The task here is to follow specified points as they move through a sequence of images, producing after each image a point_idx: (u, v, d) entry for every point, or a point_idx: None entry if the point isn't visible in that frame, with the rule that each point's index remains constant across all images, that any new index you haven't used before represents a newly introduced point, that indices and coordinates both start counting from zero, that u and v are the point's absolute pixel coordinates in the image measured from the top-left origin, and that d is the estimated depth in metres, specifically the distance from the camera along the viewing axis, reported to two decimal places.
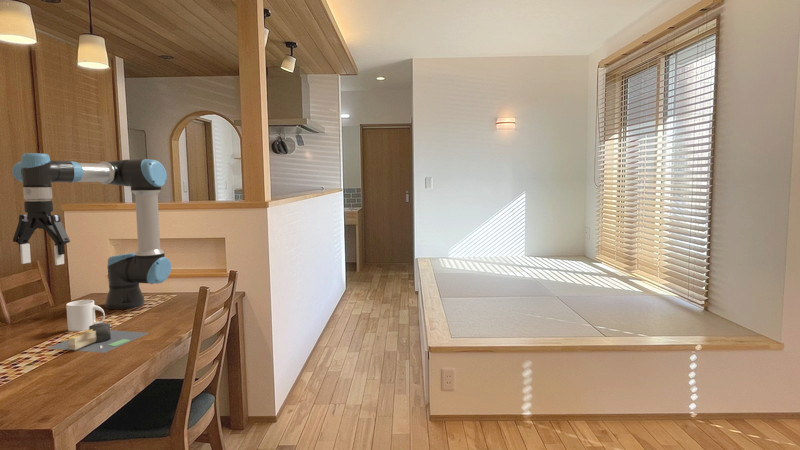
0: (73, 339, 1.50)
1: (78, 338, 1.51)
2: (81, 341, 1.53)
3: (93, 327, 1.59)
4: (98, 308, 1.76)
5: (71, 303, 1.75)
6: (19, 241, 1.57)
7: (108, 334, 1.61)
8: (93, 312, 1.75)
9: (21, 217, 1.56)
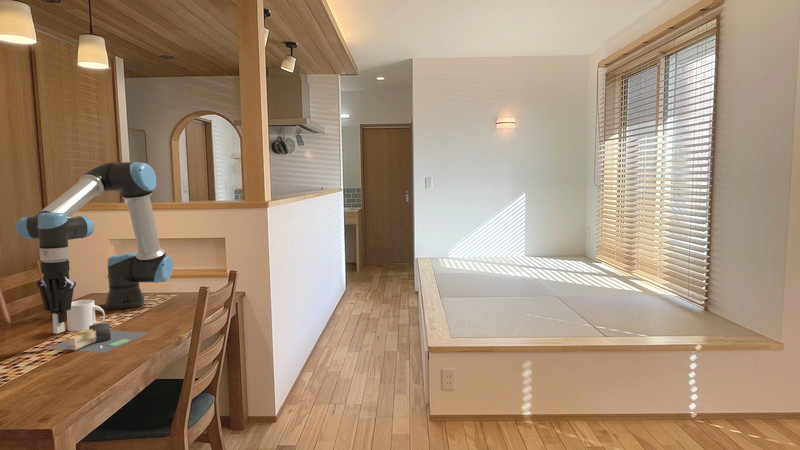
0: (73, 339, 1.50)
1: (78, 338, 1.51)
2: (81, 341, 1.53)
3: (93, 327, 1.59)
4: (98, 308, 1.76)
5: (71, 303, 1.75)
6: (51, 309, 1.52)
7: (108, 334, 1.61)
8: (93, 312, 1.75)
9: (39, 283, 1.52)
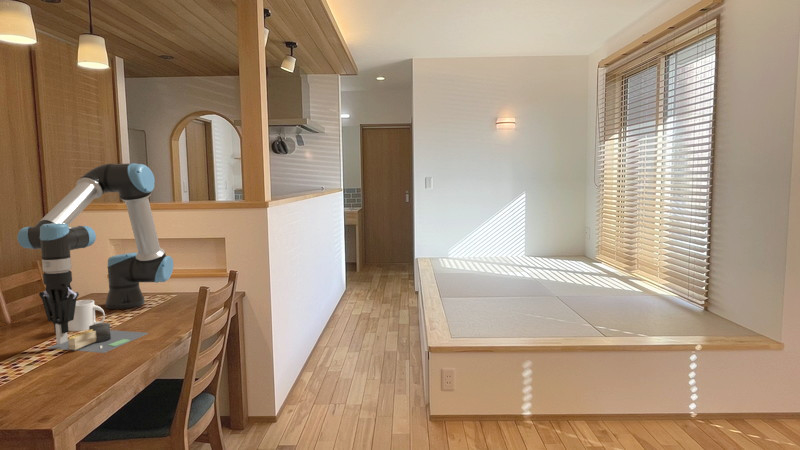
0: (73, 339, 1.50)
1: (78, 338, 1.51)
2: (81, 341, 1.53)
3: (93, 327, 1.59)
4: (98, 308, 1.76)
5: None
6: (54, 320, 1.53)
7: (108, 334, 1.61)
8: (93, 312, 1.75)
9: (41, 294, 1.53)
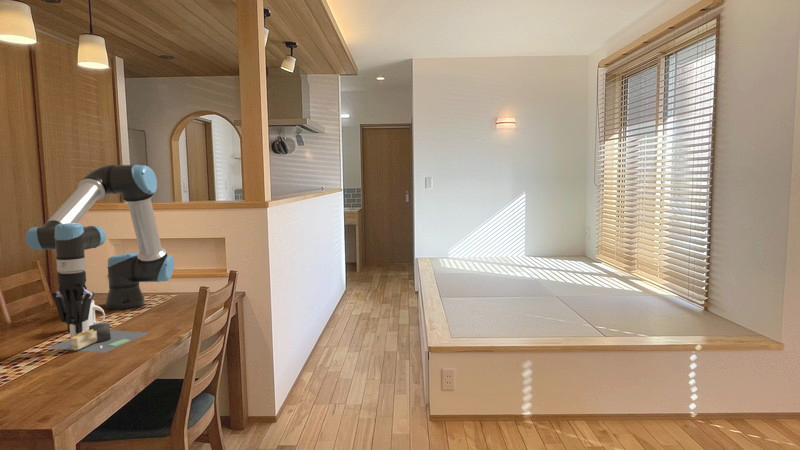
0: (75, 339, 1.50)
1: (80, 338, 1.51)
2: (83, 341, 1.52)
3: (93, 327, 1.59)
4: (98, 308, 1.76)
5: None
6: (68, 320, 1.52)
7: (108, 334, 1.61)
8: (93, 312, 1.75)
9: (54, 295, 1.51)
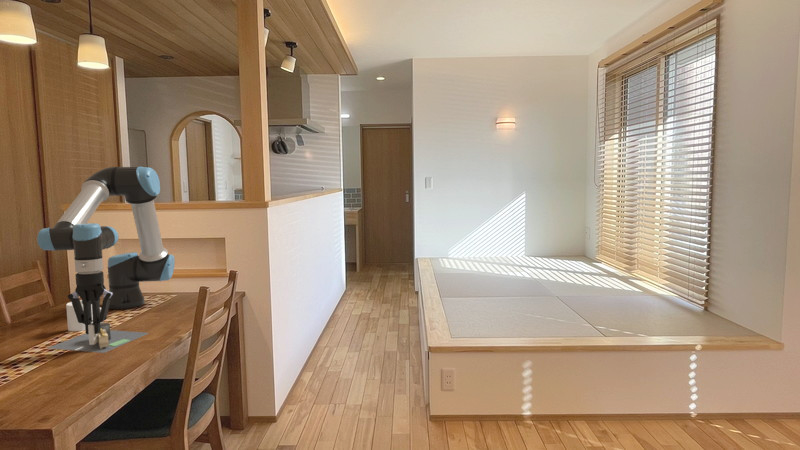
0: (106, 336, 1.53)
1: (107, 335, 1.54)
2: None
3: None
4: None
5: (71, 303, 1.75)
6: (86, 321, 1.51)
7: None
8: None
9: (70, 296, 1.50)
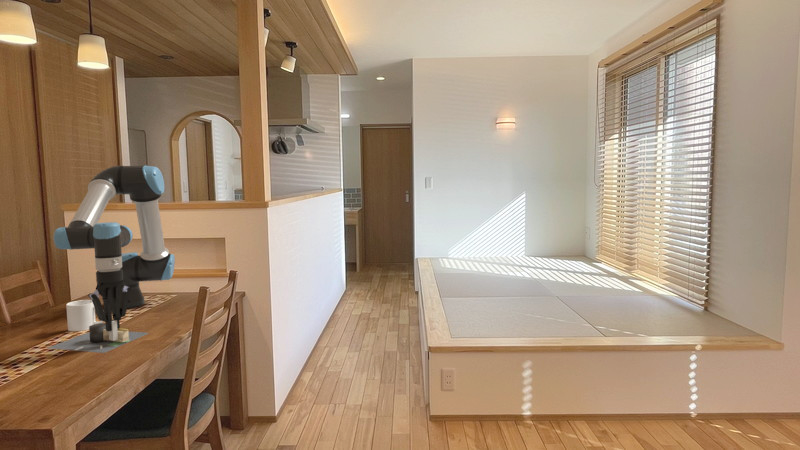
0: (127, 330, 1.59)
1: None
2: None
3: (103, 326, 1.60)
4: None
5: (71, 303, 1.75)
6: (110, 318, 1.54)
7: None
8: (93, 312, 1.75)
9: (95, 295, 1.50)
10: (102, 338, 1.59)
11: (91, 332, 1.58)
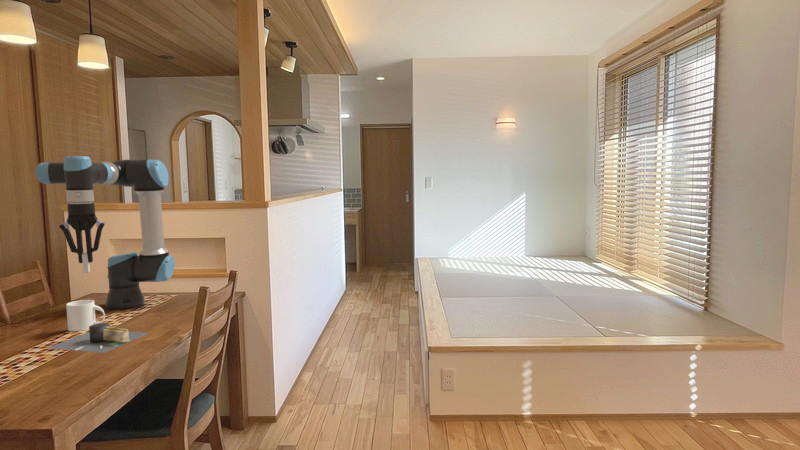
0: (127, 330, 1.59)
1: None
2: None
3: (103, 326, 1.60)
4: (98, 308, 1.76)
5: (71, 303, 1.75)
6: (79, 250, 1.57)
7: None
8: (93, 312, 1.75)
9: (62, 226, 1.54)
10: (102, 338, 1.59)
11: (91, 332, 1.58)
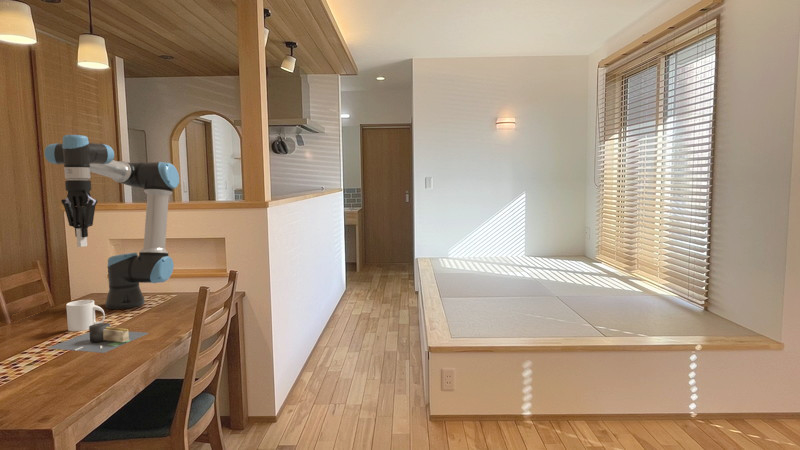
0: (127, 330, 1.59)
1: None
2: None
3: (103, 326, 1.60)
4: (98, 308, 1.76)
5: (71, 303, 1.75)
6: (74, 225, 1.66)
7: None
8: (93, 312, 1.75)
9: (63, 201, 1.66)
10: (102, 338, 1.59)
11: (91, 332, 1.58)
